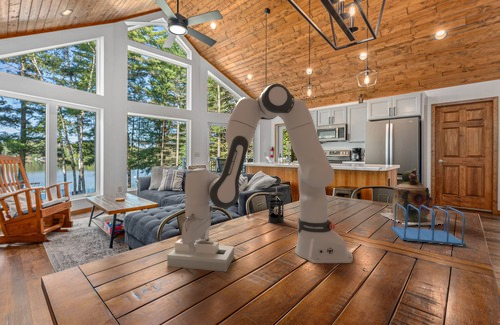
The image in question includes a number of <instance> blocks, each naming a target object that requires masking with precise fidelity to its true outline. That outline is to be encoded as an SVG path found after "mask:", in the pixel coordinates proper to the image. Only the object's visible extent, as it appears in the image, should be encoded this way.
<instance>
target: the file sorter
mask: <svg viewBox="0 0 500 325" xmlns="http://www.w3.org/2000/svg"><path fill="white" fill-rule="evenodd" d="M397 205H399V204H398V203H396V205H395V217H394V221H393V226H391V230H392V231H393V232H394V233H395V235H396V236H398V237H399V238H400V240H401V241H402V240H407V241H406V242H408V241H421V242H432V243H443V244H453V245H463V246H466V247H467V244H466V243H465V242H464V240H465V229H466V228H465V226H466V215H465V213H464V212H462V211H459V210H458V209H455V208H453V207H451V206H446V208H445V209H443V208H441V207H439V206H437V205H433V206H432V208H430V209H429V208H427V207H426V206H424V205H421V206H420V210H419V209H417V208H416V207H414V206H412V205H410V204H408V206H407V212H406V209H405V208H404V207H402V206H401V205H399V206H400V207H401V208H403V209H404V210H405V226H404V227H403V226H402V227H401V226H396V223H397V222H396V206H397ZM409 205H410V206H411V207H413V208H415V209H416V210H418V212H419V224H418V227H417V228H415V227H408V226H409V225H408V207H409ZM422 206H423V207H425V208H427V209H428V210H430V212H431V219H432V221H431V225H430V226H431V227H430V229H426V228H421V225H420V217H421V207H422ZM435 208H437V209H439V210H441V211H442V212H444V213H445V214H444V224H443V225H444V226H443V230H437V229H436V230H435V226H436V225H435V220H436V214H435V211H434V209H435ZM448 209H450V210H453V211H455V212H457V213H459V214H461V215H462V218H463V220H462V231H461V239H460V238H457V237H456V236H455V235H454V234H451V232H450V222H451V218H450V213H449V212H448Z"/></svg>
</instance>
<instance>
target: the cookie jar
mask: <svg viewBox="0 0 500 325" xmlns="http://www.w3.org/2000/svg"><path fill="white" fill-rule="evenodd" d="M401 180H402V183H400V184H395V185H393V186H392V188H393V190H394V193H393V197H392V204H391V205H392V212H385V213H382V212H380V215H381V216H382V217H384V218H387V219H389V220H391V219H392V220H391V221H393V220H394V217H395V205H396V203H398V204H399V205H401V206H402V207H404V208H405V209H406V212H407V206H408V204H410V205H412V206H414V207H416V208H417V209H419V210H420V206H421V205H424V206H426V207H427V208H429V209H431V208H430V205H432V203H433V201H434V198H433V197H431V193H430V188H428V187H427V186H425V185H424V184H423V183H421V182H420V181H419V180H418V177H417V168H414V169H412V170H405V171H404V172H403V173H402V175H401ZM399 205H397V206H396V223H398V221H405V210H404V209H403V208H401V207H400V206H399ZM410 205H409V207H408V226H417V225H418V224H419V212H418V210H416V209H415V208H413V207H411V206H410ZM427 208H425V207H423V206H422V207H421V217H420V226H431V221H432V218H431V217H428V215H430V213H431V211H430V210H428V209H427ZM402 224H404V225H405V223H402ZM402 224H401V225H402ZM438 224H441V225H440V226H442V224H443V225H444V224H445V221H443V220H437V219H435V226H439V225H438ZM404 225H403V226H404Z"/></svg>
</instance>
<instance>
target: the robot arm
mask: <svg viewBox="0 0 500 325" xmlns="http://www.w3.org/2000/svg"><path fill="white" fill-rule="evenodd" d="M277 117H279V118H280V119H281V120H282V121H283V123H284V125H285V129H286V133H287V135H288V136H287V137H288V139H289V142H290V145H291V148H292V151H293V153H294V155H295V158H296V160H297V163H298V168H297V179H298V193H299V194H298V195H299V217H298V221H297V231H298V234H297V235H298V236H297V242H296V246H295V249H294V252H295V254H296V256H298V257H300V258H303V259H305V260H307V261H309V262H311V263H313V264H351V263H353V261H354V256H353V254H352V252H351V251H350V249H348V247H347V244H346V243H347V242H346V241H345V239H344V238H343V237H342V236H341V235H339V233H337V232H336V231H334V230H335V229H336V226H335V224H334V223H333V222H332V221H331V220H330V219H329V220H328V207H329V206H328V205H329V202H328V197H327V193H326V192H327V191H326V187H328V186H330V185H331V184H332V183H333V181H334V179H335V171H334V169H333V167H332V165H331V163H330V160H329V158H328V156H327V154H326V152H325V149H324V148H323V146H322V143H321V141H320V139H319V135H318V132H317V130H316V125H315V122H314V120H313V116H312V114H311V112H310V110H309V107H308V106H307V104H306V103H305V101H304V100H303V99H301V98H300V99H299V98H298V99H297V98H296V99H295V97H294V95H293V94H292V93H291V92H290V91H289V89H288V88H287V87H286V86H285V85H283V84H281V83H273V84H269V85H268V86H266V87H265V88H264V89H263V91H262V92H261V93H260V95H259V96H258V98H251V97H248V96H246V97H245V96H244V97H242V98H240V99H239V100H237V103H236V104H235V106H234V107H233V109H232V112H231V114H230V116H229V119H228V123H227V126H226V130H225V134H224V136H225V137H224V139H225V141H226V145H227V155H226V160H225V161H224V162H225V163H224V165H223V169H222V172H221V175H219V174H217V173H214V172H212V171H210V170H208V169H207V168H205V167H199V168H194V169H191V170H189V171H188V172H187V173H186V175H185V181H184V193H185V194H184V195H185V203H184V204H185V205H184V206H185V208H184V209H185V210H184V212H185V216H184V217H185V218H186V219H185V221H183V224H182V229H181V239H182V243H183V244H188V246H189V249H190V253H194V252H195V251H196V247H195V246H194V244H195V241H196V240H197V239H198V238H199V237H200V239H199V240H200V241H206V240H205V235H206V230H208V229H209V230H210V227H211V223H212V211H213V206H215V207H217V208H219V209H228V208H231V207H233V206H234V205H235V204H236V203H237V202H238V200H239V197H240V186H239V183H240V177H241V174H242V170H243V167H244V163H245V161H246V160H245V159H246V156H247V152H248V150H249V147H250V146H251V144H252V141H253V138H254V135H255V133H256V130H257V127H258V124H259V121H260V120H266V121H267V120H269V121H270V120H273V119H275V118H277ZM210 201H211V203H212V204H213V205H210Z"/></svg>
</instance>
